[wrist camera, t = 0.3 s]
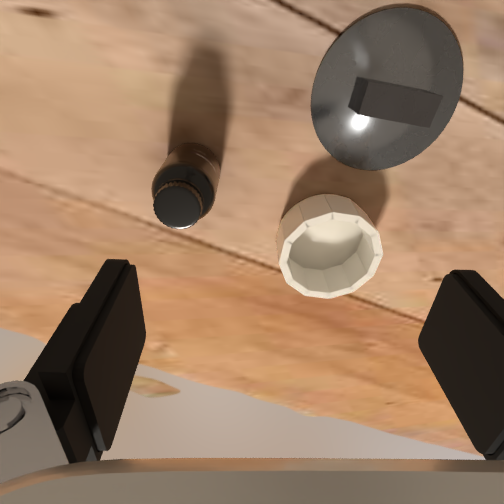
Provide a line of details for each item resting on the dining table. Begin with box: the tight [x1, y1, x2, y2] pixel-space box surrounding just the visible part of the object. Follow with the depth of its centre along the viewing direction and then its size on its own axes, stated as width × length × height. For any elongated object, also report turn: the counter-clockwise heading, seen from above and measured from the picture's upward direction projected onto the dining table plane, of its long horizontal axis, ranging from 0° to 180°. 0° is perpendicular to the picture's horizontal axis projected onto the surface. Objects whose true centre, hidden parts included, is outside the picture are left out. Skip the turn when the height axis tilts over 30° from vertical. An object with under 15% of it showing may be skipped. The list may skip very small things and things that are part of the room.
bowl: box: [276, 194, 383, 299], centre depth 48 cm, size 13×13×6 cm
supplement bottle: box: [152, 143, 220, 229], centre depth 39 cm, size 7×7×12 cm
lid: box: [311, 8, 463, 170], centre depth 38 cm, size 17×17×5 cm
